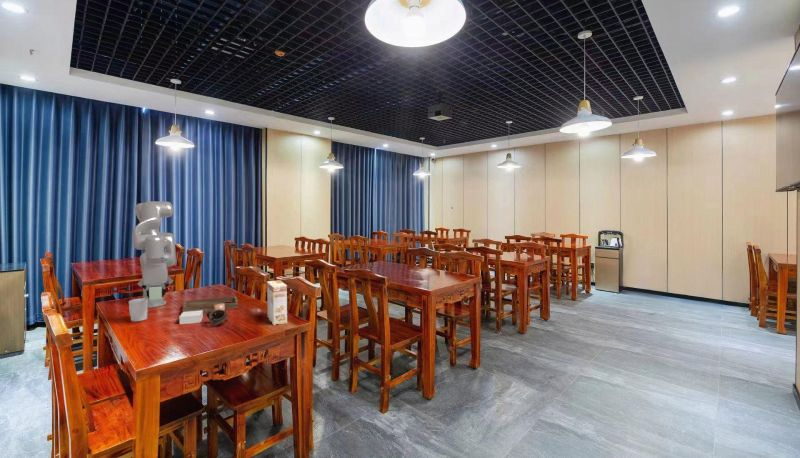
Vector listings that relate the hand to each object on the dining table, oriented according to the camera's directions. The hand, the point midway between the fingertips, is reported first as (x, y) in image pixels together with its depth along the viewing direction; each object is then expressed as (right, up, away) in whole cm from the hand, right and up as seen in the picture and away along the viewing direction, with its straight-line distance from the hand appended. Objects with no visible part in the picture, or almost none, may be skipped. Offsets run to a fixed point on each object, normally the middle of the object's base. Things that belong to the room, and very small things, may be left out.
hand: (156, 296), depth 178 cm
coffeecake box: (+58, -14, +6) cm, 60 cm away
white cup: (-13, -13, +6) cm, 19 cm away
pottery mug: (+30, -14, 0) cm, 33 cm away
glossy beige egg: (+23, -12, +17) cm, 31 cm away
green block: (0, -1, 0) cm, 1 cm away
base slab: (+15, -13, +5) cm, 21 cm away
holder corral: (+13, -12, +27) cm, 33 cm away
